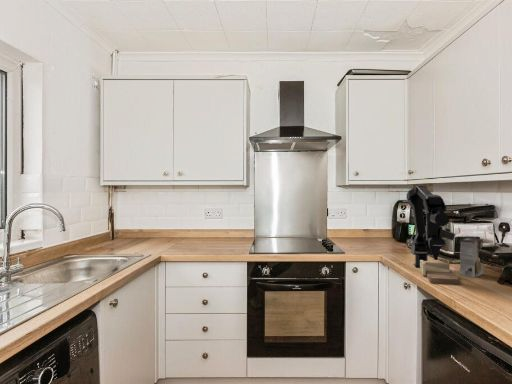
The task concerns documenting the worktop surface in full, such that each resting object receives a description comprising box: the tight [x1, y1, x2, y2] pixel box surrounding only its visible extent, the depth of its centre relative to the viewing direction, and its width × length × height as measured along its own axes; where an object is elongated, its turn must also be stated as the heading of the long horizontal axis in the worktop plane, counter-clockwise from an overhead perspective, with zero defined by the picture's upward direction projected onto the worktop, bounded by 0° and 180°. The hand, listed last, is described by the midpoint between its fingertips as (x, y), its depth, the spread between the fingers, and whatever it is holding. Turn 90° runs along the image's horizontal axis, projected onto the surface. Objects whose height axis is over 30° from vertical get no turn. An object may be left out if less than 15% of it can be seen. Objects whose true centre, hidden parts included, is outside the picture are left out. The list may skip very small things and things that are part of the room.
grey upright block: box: [459, 237, 484, 279], centre depth 155 cm, size 9×6×16 cm
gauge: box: [419, 260, 450, 277], centre depth 155 cm, size 7×11×6 cm, turn 72°
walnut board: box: [425, 270, 461, 286], centre depth 149 cm, size 16×11×2 cm
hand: (433, 257), depth 155 cm, fingers open, 9 cm apart
